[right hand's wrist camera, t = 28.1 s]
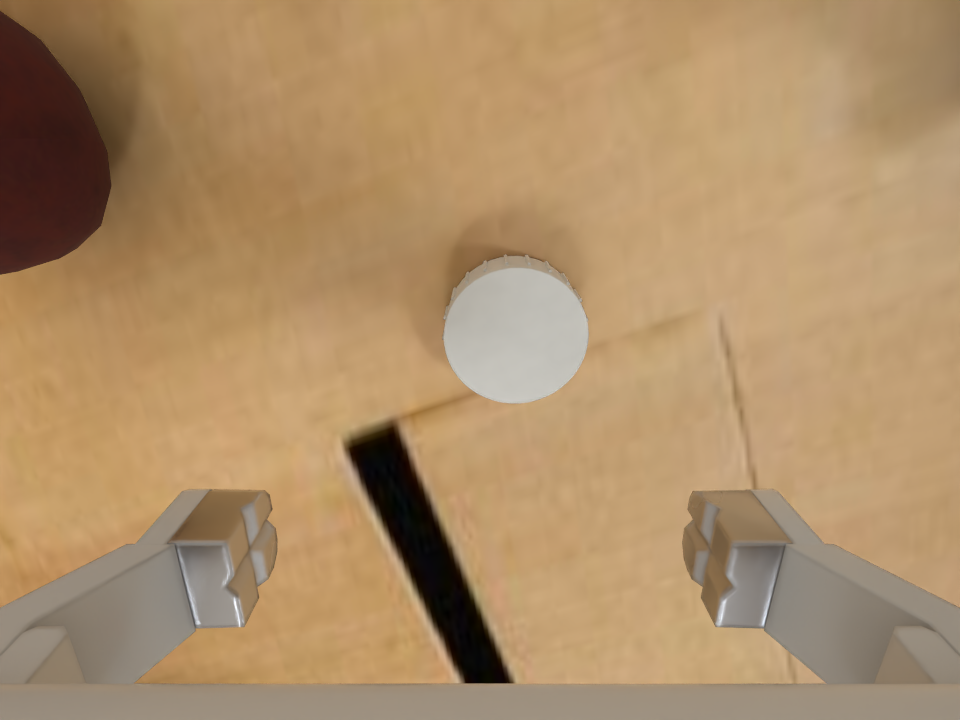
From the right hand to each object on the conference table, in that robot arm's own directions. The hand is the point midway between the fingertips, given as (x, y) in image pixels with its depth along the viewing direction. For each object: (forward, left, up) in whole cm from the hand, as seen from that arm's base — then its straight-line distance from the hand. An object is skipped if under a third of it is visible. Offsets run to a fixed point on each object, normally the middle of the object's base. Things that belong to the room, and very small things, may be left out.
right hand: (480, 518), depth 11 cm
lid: (+1, 0, -9) cm, 9 cm away
